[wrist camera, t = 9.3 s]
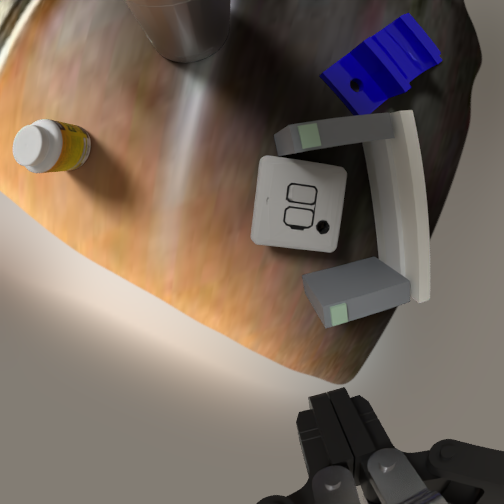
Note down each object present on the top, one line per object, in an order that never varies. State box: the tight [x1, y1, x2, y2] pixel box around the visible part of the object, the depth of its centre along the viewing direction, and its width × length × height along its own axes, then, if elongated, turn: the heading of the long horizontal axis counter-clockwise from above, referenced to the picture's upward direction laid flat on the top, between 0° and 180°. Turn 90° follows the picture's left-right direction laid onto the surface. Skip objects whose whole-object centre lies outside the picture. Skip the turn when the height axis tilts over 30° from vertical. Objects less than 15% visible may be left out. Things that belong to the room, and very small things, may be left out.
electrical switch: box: [251, 155, 347, 253], centre depth 33 cm, size 9×5×9 cm
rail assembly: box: [274, 110, 430, 328], centre depth 31 cm, size 20×12×10 cm, turn 13°
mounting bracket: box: [320, 13, 442, 116], centre depth 29 cm, size 18×7×6 cm, turn 133°
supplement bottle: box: [13, 119, 91, 173], centre depth 27 cm, size 6×6×10 cm
